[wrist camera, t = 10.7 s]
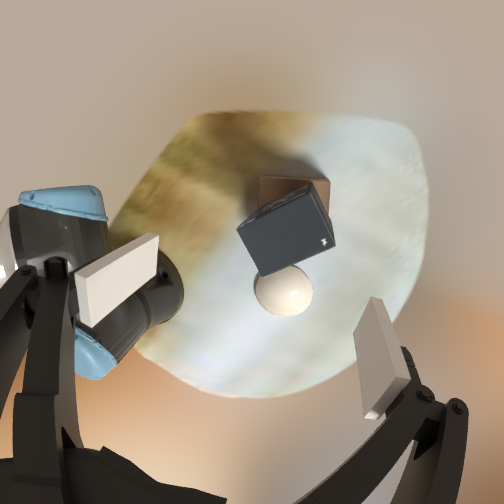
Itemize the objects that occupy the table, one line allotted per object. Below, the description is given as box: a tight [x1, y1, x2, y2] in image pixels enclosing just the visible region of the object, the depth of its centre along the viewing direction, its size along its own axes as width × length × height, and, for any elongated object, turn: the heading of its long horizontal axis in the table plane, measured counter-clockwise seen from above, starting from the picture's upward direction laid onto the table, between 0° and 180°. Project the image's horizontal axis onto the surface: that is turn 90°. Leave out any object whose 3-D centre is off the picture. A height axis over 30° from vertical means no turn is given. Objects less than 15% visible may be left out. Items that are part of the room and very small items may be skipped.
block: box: [258, 176, 330, 213], centre depth 37 cm, size 9×9×5 cm
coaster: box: [255, 266, 313, 317], centre depth 43 cm, size 9×9×1 cm
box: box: [236, 182, 336, 278], centre depth 29 cm, size 8×6×11 cm
